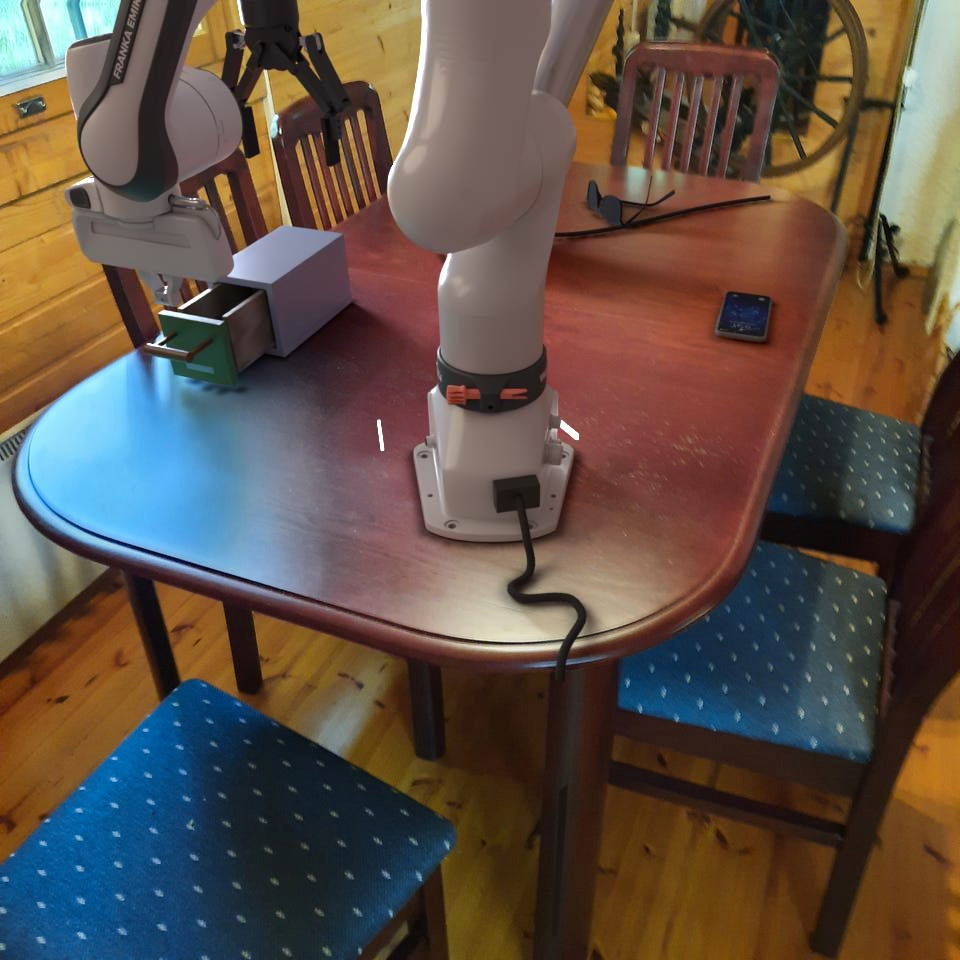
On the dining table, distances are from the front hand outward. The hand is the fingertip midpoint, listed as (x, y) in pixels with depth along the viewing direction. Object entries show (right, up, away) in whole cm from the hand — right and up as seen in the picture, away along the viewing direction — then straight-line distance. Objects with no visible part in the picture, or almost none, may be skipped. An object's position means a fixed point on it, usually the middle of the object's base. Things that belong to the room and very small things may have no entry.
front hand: (168, 303), depth 105 cm
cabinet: (+9, +2, +25) cm, 27 cm away
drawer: (+4, -5, +14) cm, 15 cm away
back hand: (+12, +24, +17) cm, 32 cm away
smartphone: (+78, +2, +23) cm, 81 cm away
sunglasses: (+68, +30, +61) cm, 96 cm away
